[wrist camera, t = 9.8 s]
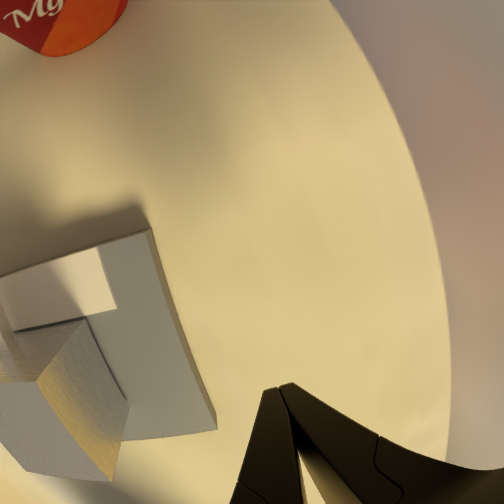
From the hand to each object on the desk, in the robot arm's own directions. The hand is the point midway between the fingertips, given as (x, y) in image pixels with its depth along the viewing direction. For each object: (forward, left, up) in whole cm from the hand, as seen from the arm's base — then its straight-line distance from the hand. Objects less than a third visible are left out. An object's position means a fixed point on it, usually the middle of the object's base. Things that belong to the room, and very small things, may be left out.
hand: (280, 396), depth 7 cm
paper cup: (+17, +5, -6) cm, 19 cm away
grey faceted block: (+1, +9, -4) cm, 10 cm away
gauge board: (0, +18, -6) cm, 19 cm away
